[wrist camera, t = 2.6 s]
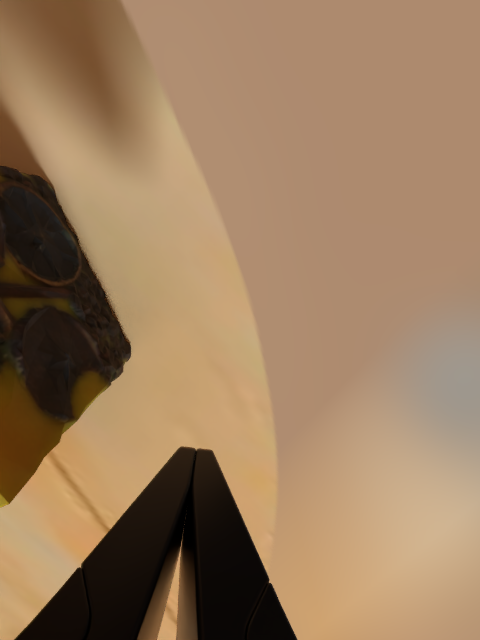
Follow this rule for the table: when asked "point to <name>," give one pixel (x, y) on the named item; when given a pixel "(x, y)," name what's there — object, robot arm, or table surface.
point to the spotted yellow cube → (46, 329)
